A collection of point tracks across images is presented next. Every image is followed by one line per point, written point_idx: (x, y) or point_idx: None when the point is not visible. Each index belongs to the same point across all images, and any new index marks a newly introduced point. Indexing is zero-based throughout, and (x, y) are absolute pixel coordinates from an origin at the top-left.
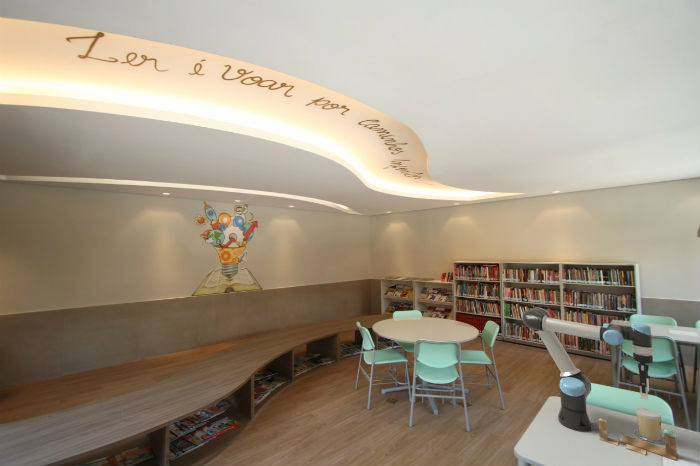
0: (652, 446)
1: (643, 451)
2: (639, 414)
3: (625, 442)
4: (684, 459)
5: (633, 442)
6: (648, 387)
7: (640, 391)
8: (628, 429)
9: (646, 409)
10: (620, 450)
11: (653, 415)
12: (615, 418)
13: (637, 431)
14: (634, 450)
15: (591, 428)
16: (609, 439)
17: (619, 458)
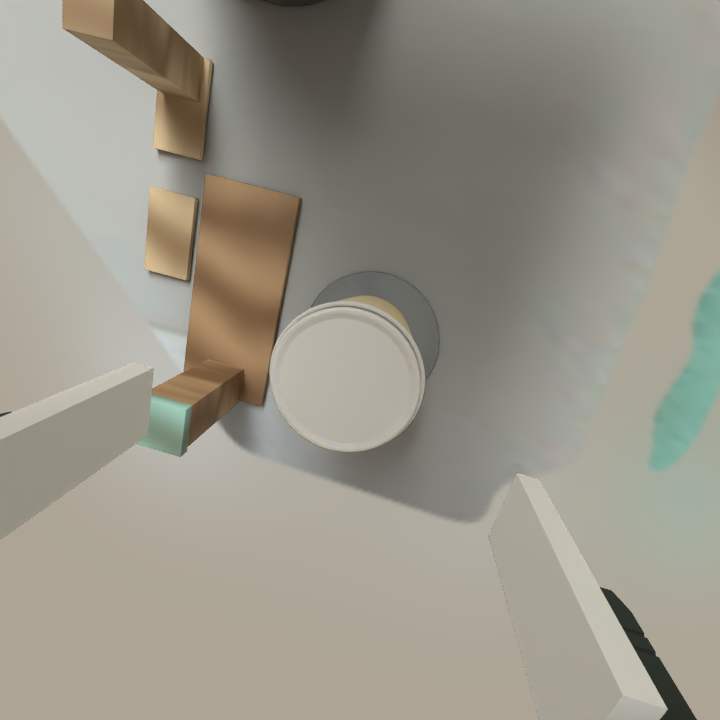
0: (245, 319)
1: (165, 265)
2: (302, 313)
3: (203, 194)
4: None
5: (230, 237)
6: (504, 582)
7: (37, 405)
8: (405, 246)
9: (410, 389)
10: (115, 155)
11: (307, 406)
12: (543, 195)
13: (393, 289)
14: (148, 224)
15: (275, 2)
16: (187, 108)
17: (31, 136)
